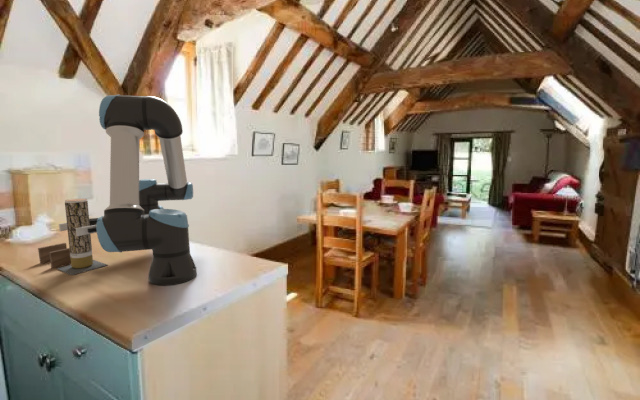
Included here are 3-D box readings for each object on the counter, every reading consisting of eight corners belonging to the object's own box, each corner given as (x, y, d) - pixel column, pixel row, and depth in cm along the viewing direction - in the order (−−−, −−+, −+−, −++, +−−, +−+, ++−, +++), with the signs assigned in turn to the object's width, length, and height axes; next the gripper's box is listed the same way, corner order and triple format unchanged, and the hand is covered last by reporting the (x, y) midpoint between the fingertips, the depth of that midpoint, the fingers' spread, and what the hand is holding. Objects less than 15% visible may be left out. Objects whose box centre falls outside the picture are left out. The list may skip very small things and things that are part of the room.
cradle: (79, 261, 137) (77, 246, 137) (52, 268, 130) (50, 252, 129) (66, 256, 144) (64, 242, 143) (40, 263, 136) (38, 248, 135)
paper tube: (82, 269, 127) (75, 201, 123) (66, 268, 128) (59, 200, 125) (97, 263, 134) (91, 198, 130) (82, 262, 135) (76, 198, 131)
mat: (107, 265, 133) (107, 264, 133) (71, 275, 123) (71, 274, 123) (92, 260, 139) (91, 259, 139) (56, 269, 129) (56, 268, 129)
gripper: (145, 232, 137) (85, 245, 120) (112, 224, 151) (54, 235, 133) (143, 213, 136) (83, 223, 119) (110, 207, 150) (51, 216, 132)
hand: (67, 229), depth 126 cm, fingers open, 13 cm apart
